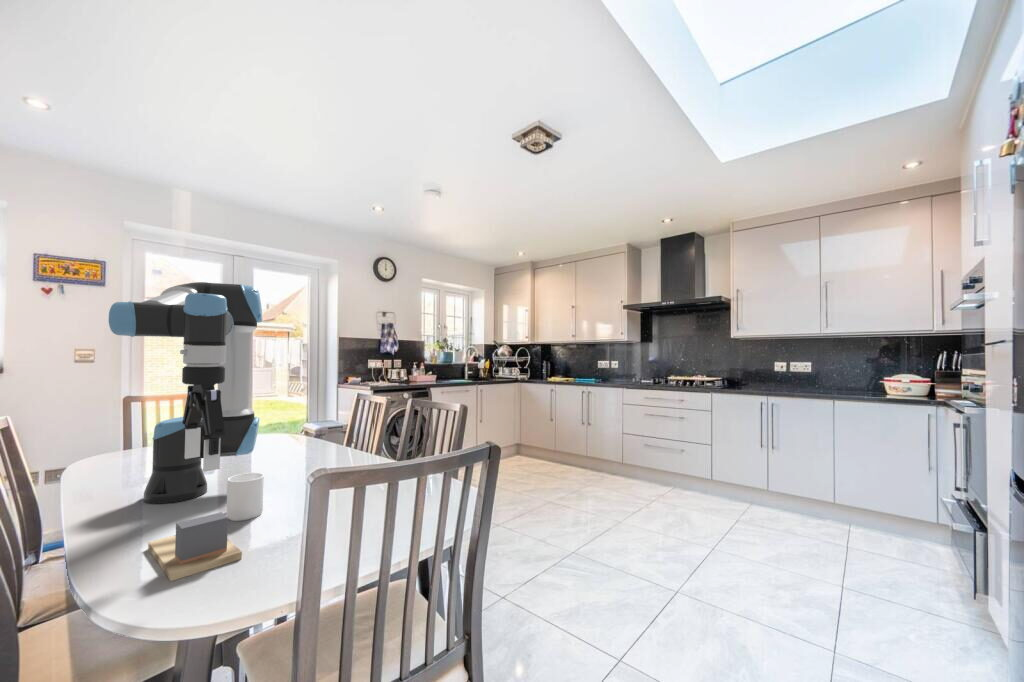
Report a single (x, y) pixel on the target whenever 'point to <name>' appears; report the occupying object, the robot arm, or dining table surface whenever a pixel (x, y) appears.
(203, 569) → the board
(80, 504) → the dining table surface
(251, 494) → the cup
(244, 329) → the robot arm
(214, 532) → the block
